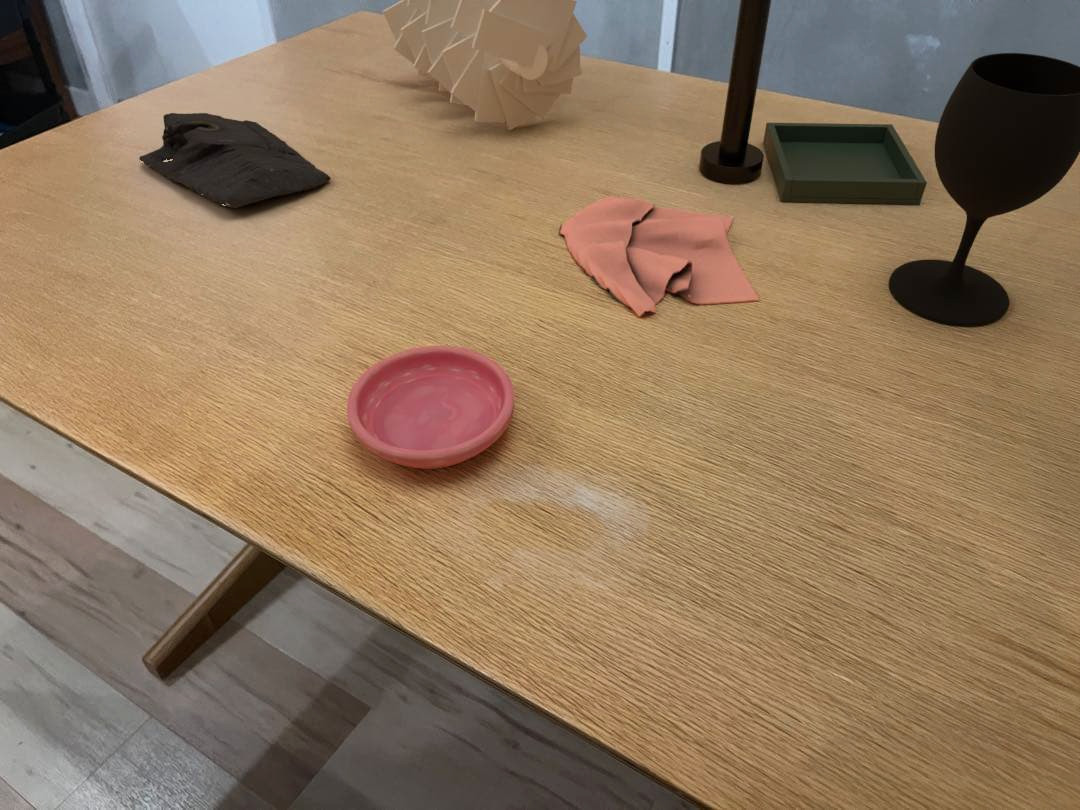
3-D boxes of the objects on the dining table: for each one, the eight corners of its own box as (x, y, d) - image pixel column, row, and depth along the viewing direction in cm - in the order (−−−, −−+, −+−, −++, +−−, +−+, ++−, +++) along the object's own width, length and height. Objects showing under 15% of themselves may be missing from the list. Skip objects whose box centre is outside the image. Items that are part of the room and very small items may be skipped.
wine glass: (1031, 298, 75) (1136, 76, 61) (966, 342, 70) (1064, 112, 57) (930, 250, 81) (1004, 39, 67) (864, 287, 76) (930, 69, 63)
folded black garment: (214, 231, 85) (201, 189, 82) (134, 161, 98) (120, 122, 94) (342, 184, 93) (334, 144, 89) (253, 124, 105) (243, 87, 102)
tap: (787, 157, 96) (858, -201, 73) (796, 185, 91) (877, -191, 68) (696, 156, 97) (740, -200, 74) (701, 183, 92) (749, -190, 69)
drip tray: (886, 145, 98) (892, 124, 97) (919, 204, 88) (927, 182, 86) (762, 143, 99) (766, 122, 97) (780, 202, 88) (785, 179, 87)
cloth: (595, 189, 91) (596, 169, 89) (793, 232, 84) (798, 211, 82) (510, 283, 77) (509, 261, 76) (737, 344, 70) (741, 321, 69)
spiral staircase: (476, 97, 121) (567, 152, 104) (366, 65, 110) (448, 121, 93) (516, -35, 113) (621, 1, 97) (402, -84, 103) (498, -52, 86)
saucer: (534, 464, 60) (534, 433, 58) (364, 502, 57) (357, 471, 55) (493, 361, 69) (491, 331, 67) (344, 391, 66) (337, 360, 64)
